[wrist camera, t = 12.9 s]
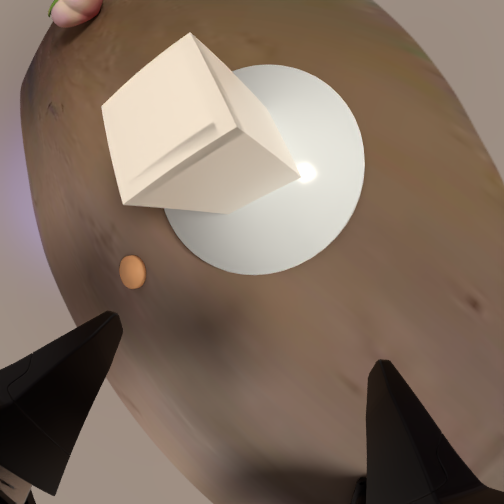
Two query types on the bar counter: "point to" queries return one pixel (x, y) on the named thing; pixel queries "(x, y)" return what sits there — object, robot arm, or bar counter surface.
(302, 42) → the bar counter surface
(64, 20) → the decorative fruit
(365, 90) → the bar counter surface
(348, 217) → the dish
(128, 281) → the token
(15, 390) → the robot arm
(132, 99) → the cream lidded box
